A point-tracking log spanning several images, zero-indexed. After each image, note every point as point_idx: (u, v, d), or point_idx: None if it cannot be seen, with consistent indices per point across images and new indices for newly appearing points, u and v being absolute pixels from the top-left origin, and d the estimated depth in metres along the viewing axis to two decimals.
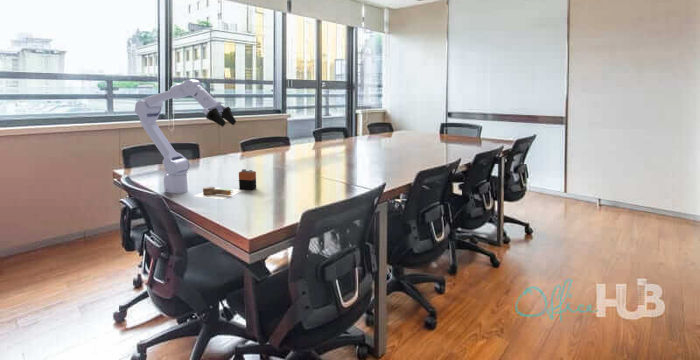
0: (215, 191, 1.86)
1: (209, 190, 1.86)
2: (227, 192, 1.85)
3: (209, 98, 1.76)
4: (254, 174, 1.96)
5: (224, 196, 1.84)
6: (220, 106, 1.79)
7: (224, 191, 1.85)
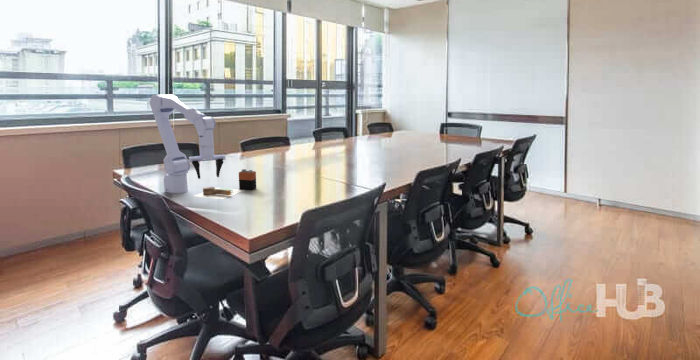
0: (215, 191, 1.86)
1: (209, 190, 1.86)
2: (227, 192, 1.85)
3: (204, 148, 1.76)
4: (254, 174, 1.96)
5: (224, 196, 1.84)
6: None
7: (224, 191, 1.85)
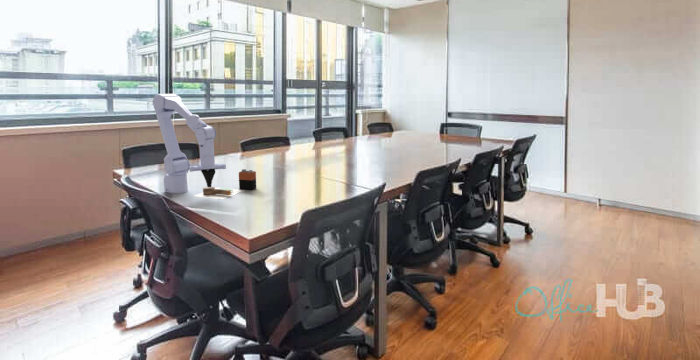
0: (215, 191, 1.86)
1: (209, 190, 1.86)
2: (227, 192, 1.85)
3: (204, 158, 1.77)
4: (254, 174, 1.96)
5: (224, 196, 1.84)
6: None
7: (224, 191, 1.85)
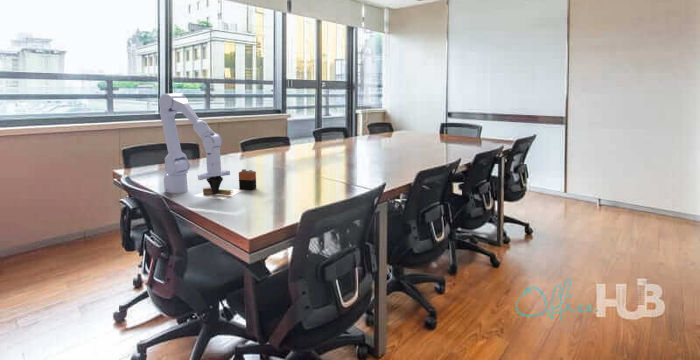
0: None
1: (209, 190, 1.86)
2: (227, 192, 1.85)
3: (214, 165, 1.80)
4: (254, 174, 1.96)
5: (224, 196, 1.84)
6: None
7: (224, 191, 1.85)
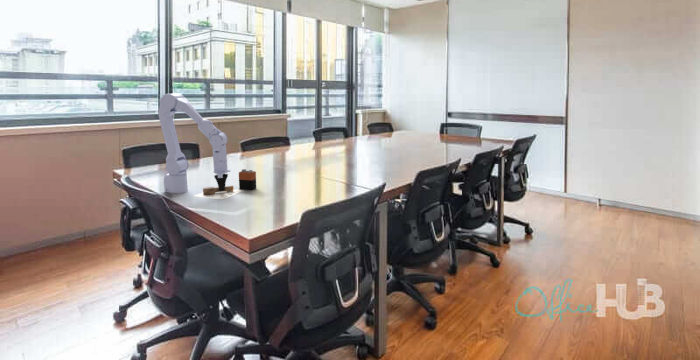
0: (218, 189, 1.90)
1: (213, 189, 1.87)
2: (231, 188, 1.92)
3: (225, 162, 1.86)
4: (254, 174, 1.96)
5: (224, 196, 1.84)
6: None
7: (228, 187, 1.92)
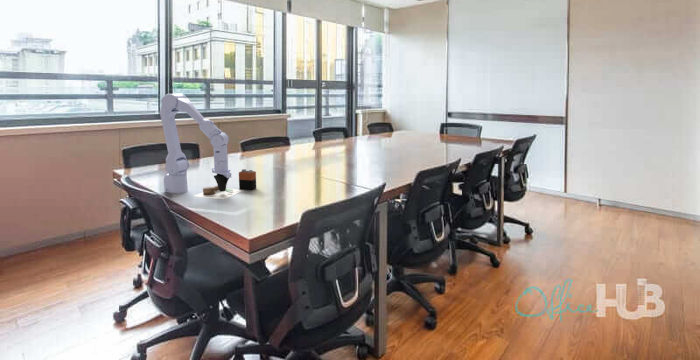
0: (216, 188, 1.91)
1: (214, 188, 1.89)
2: None
3: (227, 162, 1.86)
4: (254, 174, 1.96)
5: (224, 196, 1.84)
6: None
7: None
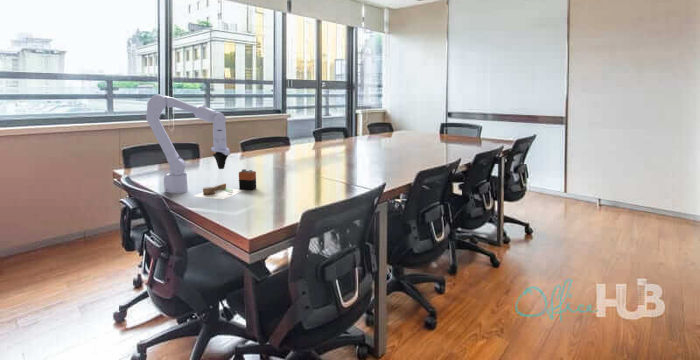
0: (216, 188, 1.91)
1: (214, 188, 1.89)
2: (224, 185, 1.97)
3: None
4: (254, 174, 1.96)
5: (224, 196, 1.84)
6: None
7: (222, 185, 1.95)
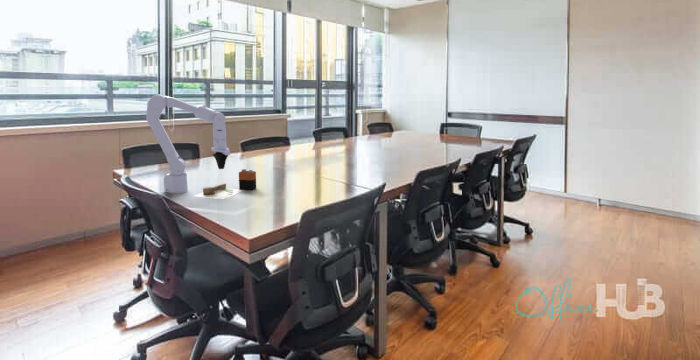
0: (216, 188, 1.91)
1: (214, 188, 1.89)
2: (224, 185, 1.97)
3: None
4: (254, 174, 1.96)
5: (224, 196, 1.84)
6: None
7: (222, 185, 1.95)
